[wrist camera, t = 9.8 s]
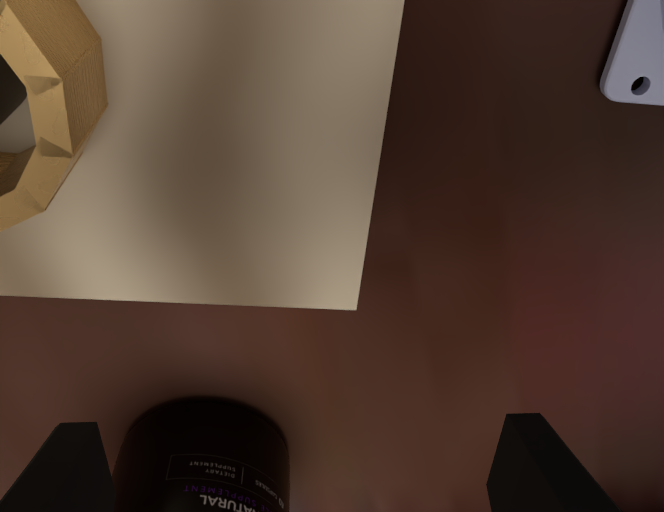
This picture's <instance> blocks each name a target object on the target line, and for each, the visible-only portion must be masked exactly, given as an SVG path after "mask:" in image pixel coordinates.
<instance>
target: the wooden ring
mask: <svg viewBox="0 0 664 512" xmlns="http://www.w3.org/2000/svg"><path fill="white" fill-rule="evenodd" d="M101 41H102V39H101V36H99V35H98V33H97V32H96V30H95V29H94V27H93V26H92V24H91V23H90V21H89V20H88V18H87V17H86V15H85V14H84V12H83V11H82V9H81V8H80V6H79V5H78V3H77V1H76V0H0V54H1V55H2V57H3V58H4V59H5V60H6V62H7V63H8V64H9V66H10V67H11V68H12V70H13V71H14V72H15V74H16V75H17V76H18V77H19V79H20V80H21V81H22V83H23V84H24V85H25V87H26V91H27V96H28V102H29V107H30V113H31V119H32V124H33V130H34V135H35V141H36V145H34V146H32V147H30V148H28V149H26V150H24V151H22V152H20V153H9V152H0V232H1V231H3V230H5V229H8V228H10V227H12V226H14V225H16V224H18V223H20V222H23V221H25V220H27V219H29V218H31V217H33V216H35V215H38V214H40V213H43V212H44V211H46V209H47V207H48V206H49V204H50V203H51V201H52V200H53V198H54V197H55V195H56V194H57V192H58V191H59V189H60V187H61V186H62V184H63V183H64V181H65V180H66V178H67V177H68V175H69V174H70V172H71V171H72V169H73V167H74V166H75V164H76V163H77V161H78V160H79V158H80V157H81V155H82V154H83V150H84V148H85V146H86V144H87V142H88V140H89V139H90V137H91V135H92V133H93V131H94V129H95V127H96V126H97V124H98V122H99V120H100V118H101V116H102V114H103V113H104V111H105V110H106V108H107V107H108V101H107V92H106V82H105V73H104V64H103V54H102V45H101Z"/></svg>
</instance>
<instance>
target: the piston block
mask: <svg viewBox="0 0 664 512" xmlns="http://www.w3.org/2000/svg"><path fill="white" fill-rule="evenodd" d="M76 1H77V3H78V5H79V6H80V8H81V9H82V11H83V12H84V14H85V15H86V17H87V18H88V20H89V21H90V23H91V24H92V26H93V27H94V29H95V30H96V32H97V33H98V35H99V36H101V39H102V41H101V45H102V54H103V64H104V73H105V82H106V92H107V101H108V107H107V108H106V110H105V111H104V113H103V114H102V116H101V118H100V120H99V122H98V124H97V126H96V127H95V129H94V131H93V133H92V135H91V137H90V139H89V140H88V142H87V144H86V146H85V148H84V150H83V154H82V155H81V157H80V158H79V160H78V161H77V163H76V164H75V166H74V167H73V169H72V171H71V172H70V174H69V175H68V177H67V178H66V180H65V181H64V183H63V184H62V186H61V187H60V189H59V191H58V192H57V194H56V195H55V197H54V198H53V200H52V201H51V203H50V204H49V206H48V207H47V209H46V211H44V212H43V213H40V214H38V215H35V216H33V217H31V218H29V219H27V220H25V221H23V222H20V223H18V224H16V225H14V226H12V227H10V228H8V229H5V230H3V231H1V232H0V295H4V296H28V297H52V298H76V299H100V300H124V301H148V302H172V303H196V304H221V305H245V306H269V307H293V308H317V309H341V310H356V308H357V302H358V296H359V289H360V283H361V276H362V270H363V263H364V257H365V251H366V244H367V238H368V231H369V225H370V219H371V212H372V206H373V199H374V193H375V187H376V180H377V174H378V167H379V161H380V155H381V148H382V142H383V135H384V129H385V122H386V116H387V110H388V103H389V97H390V90H391V84H392V78H393V71H394V65H395V58H396V52H397V46H398V39H399V33H400V26H401V20H402V13H403V7H404V1H405V0H76ZM34 145H36V141H35V135H34V130H33V124H32V119H31V113H30V107H29V102H28V96H27V91H26V87H25V85H24V84H23V83H22V81H21V80H20V79H19V77H18V76H17V75H16V74H15V72H14V71H13V70H12V68H11V67H10V66H9V64H8V63H7V62H6V60H5V59H4V58H3V57H2V55H1V54H0V152H9V153H20V152H22V151H24V150H26V149H28V148H30V147H32V146H34Z"/></svg>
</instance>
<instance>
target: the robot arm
mask: <svg viewBox="0 0 664 512" xmlns="http://www.w3.org/2000/svg"><path fill="white" fill-rule="evenodd" d="M639 77H644V79H643V83H642V85H641V86H640V87H639V88H637V89H636V90H632V91H631V85H632V84H633V82H634V81H635V80H636V79H638V78H639ZM600 89H601V92H602V93H603V94H604V95H605V96H606V97H607V98H608V99H610V100H612V101H615V102H625V103H638V104H650V105H663V106H664V0H628V1H627V4H626V7H625V10H624V13H623V16H622V19H621V22H620V25H619V27H618V30H617V33H616V36H615V39H614V42H613V45H612V48H611V50H610V53H609V56H608V59H607V62H606V65H605V68H604V71H603V74H602V76H601V80H600ZM486 485H487V490H488V495H489V500H490V505H491V510H492V512H622V511H621V510H620V509H619V507H618V506H617V505H616V504H615V503H614V502H613V501H612V499H611V498H610V497H609V496H608V495H607V494H606V492H605V491H604V490H603V489H602V488H601V487H600V485H599V484H598V483H597V482H596V481H595V479H594V478H593V477H592V476H591V475H590V473H589V472H588V471H587V470H586V469H585V467H584V466H583V465H582V464H581V463H580V461H579V460H578V459H577V458H576V456H575V455H574V454H573V453H572V452H571V450H570V449H569V448H568V447H567V445H566V444H565V443H564V442H563V440H562V439H561V438H560V437H559V435H558V434H557V433H556V432H555V431H554V429H553V428H552V427H551V426H550V424H549V423H548V422H547V421H546V419H545V418H544V417H543V416H542V415H541V414H540V413H522V414H506V418H505V421H504V425H503V428H502V432H501V435H500V439H499V442H498V446H497V449H496V453H495V456H494V460H493V463H492V467H491V470H490V474H489V477H488V481H487V484H486ZM115 499H116V492H115V489H114V485H113V481H112V477H111V474H110V470H109V466H108V462H107V458H106V455H105V451H104V447H103V443H102V440H101V436H100V432H99V428H98V424H97V422H78V423H60V424H59V425H58V426H57V427H55V429H54V430H53V431H52V433H51V434H50V435H49V437H48V438H47V440H46V441H45V442H44V444H43V445H42V446H41V448H40V449H39V450H38V452H37V453H36V454H35V456H34V457H33V458H32V460H31V461H30V463H29V464H28V465H27V467H26V468H25V469H24V470H23V472H22V473H21V474H20V476H19V477H18V478H17V480H16V481H15V482H14V484H13V485H12V486H11V487H10V489H9V490H8V491H7V493H6V494H5V495H4V496H3V498H2V499H1V500H0V512H113V510H114V505H115Z"/></svg>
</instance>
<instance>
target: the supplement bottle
mask: <svg viewBox="0 0 664 512" xmlns="http://www.w3.org/2000/svg"><path fill="white" fill-rule="evenodd" d="M112 481H113V485H114V489H115V492H116V499H115V505H114V510H113V512H289V499H290V465H289V456H288V452H287V449H286V446H285V444H284V442H283V440H282V439H281V437H280V436H279V434H278V433H277V432H276V430H275V429H274V428H273V427H272V426H271V425H269V424H268V423H267V422H266V421H265V420H263V419H262V418H260V417H259V416H257V415H255V414H253V413H251V412H249V411H247V410H245V409H242V408H239V407H236V406H233V405H229V404H225V403H219V402H209V401H195V402H185V403H179V404H174V405H171V406H167V407H165V408H162V409H159V410H157V411H155V412H153V413H151V414H150V415H148V416H146V417H145V418H143V419H142V420H141V421H139V422H138V423H137V424H136V425H135V426H134V427H133V428H132V429H131V431H130V432H129V433H128V434H127V436H126V438H125V439H124V441H123V444H122V446H121V448H120V451H119V454H118V458H117V461H116V464H115V467H114V470H113V473H112Z"/></svg>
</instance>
